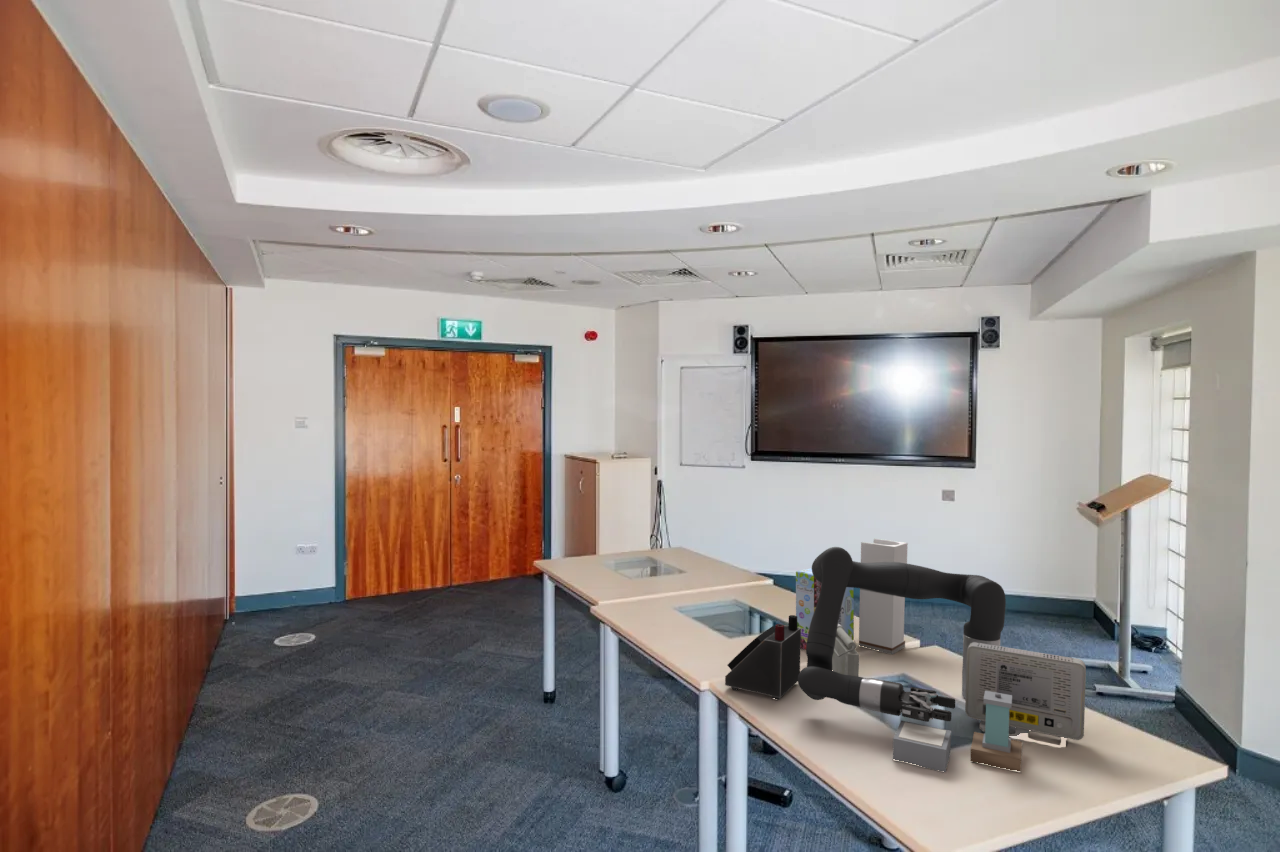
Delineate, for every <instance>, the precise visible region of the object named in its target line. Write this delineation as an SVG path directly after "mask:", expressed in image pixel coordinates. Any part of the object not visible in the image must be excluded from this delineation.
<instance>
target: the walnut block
mask: <svg viewBox="0 0 1280 852" xmlns="http://www.w3.org/2000/svg"><path fill="white" fill-rule="evenodd" d="M983 736H984V733H982V732H977V731H973V735H972V742H971V745H970V746H971V747H970V761H973V762H978V763H984V764H988V765H991V766H996V767H1000V768H1006V769H1010V770H1017V771H1022V754H1023V753H1022V751H1023V748H1022V747H1023V741H1021V740H1017V739H1012V738H1010V739H1011V748H1010V753H1008V752H1003V751H998V750H994V749H989V748H984V747H982V742H983ZM973 762H972V763H973ZM978 763H977V764H978ZM991 766H990V767H991ZM996 767H995V768H996ZM1000 768H999V769H1000Z"/></svg>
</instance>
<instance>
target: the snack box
mask: <svg viewBox="0 0 1280 852" xmlns="http://www.w3.org/2000/svg"><path fill="white" fill-rule="evenodd" d="M821 585H822V583H820V582H819V581H818V580H817V579H816V578H815V577H814V575H813V573H812V567H810V568H807V569H806V568H805V569H801V570H797V571H795V616H797V627H799V628H801V648H802V650H804V649H805V650H804V651H806V644H807V639H808V633H809V628H810V623H811V620H812V617H813V614H814V611H815V609H816V606H817V603H818V599H819V596H820V591H821ZM854 590H855V589H854V588H852V587H846V590H845V594H844V598H843V602H842V606H841V610H840V615H839V620H838V624H840V625H841V626H842V627H843V628H844V631H845V632H846V633H847V634H848V636H849V637H850V636H851V639H852V640H853V641H854V640H855V633H854V632H855V627H854V625H855V619H854V618H855V614H854V613H855V612H854V609H855V606H854V603H855V601H854V599H855V598H854V597H855V595H854Z"/></svg>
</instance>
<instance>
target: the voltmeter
mask: <svg viewBox="0 0 1280 852" xmlns="http://www.w3.org/2000/svg"><path fill="white" fill-rule="evenodd" d="M801 651H802V650H801V628H799V627H797V616H796V614H794V615H793V614H790V615H789V616H788V624H787V625H786V624H785V625H784V624H781V623H779V624H778V623H777V624H775V625H773V626H771V627H769V628H768V629H766V630H765V631H763V632H761V633H760V634H759V635H757V636H756V637H755V638H754V639H753V640H752V641H750V643H748V644H747V645H746V646H745V647H744V648H743V649H742V650H741V651H740V652H738V654H737V655H736V656H735V657H734V658H733V659H732V660H731V661H729V663H728V664H727V667H728V668H729V670H730V671H729V672H728V673H727V674H726V675H725V677H724V679H725V680H724V685H725V686H726V687H729V688H730V689H731V690H732V691H734V692H737V691H739V690H742V691H744V690H745V691H748V692H751V693H757V694H762V695H766V696H770V697H771V699H772V698H775V699H779V698H782V697H783V696H784V695H785V694H786V693H787V692H788V691H789V690H790V689H792V688H793V687H794V686H795V685H796V684H798V675H799V673H800V671H801ZM793 685H794V686H793ZM779 700H780V699H779Z"/></svg>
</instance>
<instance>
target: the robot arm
mask: <svg viewBox="0 0 1280 852" xmlns="http://www.w3.org/2000/svg"><path fill="white" fill-rule="evenodd" d="M811 568H812V573H813V575H814V577H815V578H816V579H817V580H818V581H819V582H820V583H822V585H821V591H820V596H819V599H818V603H817V606H816V609H815V611H814V614H813V617H812V620H811V623H810V628H809V633H808V639H807V644H806V650H805V654H806V657H807V660H806V666H805V667H804V668H802V669H800V673H799V675H798V682H797V684H798V687H799V688H800V690H801V691H802V692H803V693H804V694H805V695H806V696H807V697H808V698H810V699H812V700H814V701H820V700H823V699H825V698H827V699H832V700H836V701H838V702H840V703H842V704H843V705H844V704H845V705H848V706H853V707H857V708H862V709H865V710H868V711H872V712H876V713H881V714H887V715H891V716H896V717H899V716H901V717H904V718H908V719H913V720H917V721H921V722H927V723H928V722H929V723H930V721H931V720H940V721H943V722H951V721H952V711H950V710H946V709H940V708H937V707H932V706H938V707H941V708H942V707H943V708H949V709H952V710H953V709H955V708H956V699H955V698H953V697H947V696H943V695H939V694H938V693H937V691H936V690H932V689H925V688H920V687H913V686H912V687H910V691H905V690H904V685H903V683H900V682H896V681H895V682H894V681H889V680H884V679H879V678H872V677H871V678H870V677H861V676H858V677H857V676H852V675H844V674H840V673H837V672H834V671H832V657H833V653H834V647H835V640H836V633H837V626H838V620H839V615H840V610H841V606H842V602H843V598H844V594H845V590H846V587H852V588H855V589H860V588H861V589H866V590H871V591H875V592H880V593H885V594H890V595H895V596H899V597H905V599H912V600H931V599H944V600H949V601H952V602H956V603H960V604H963V605H966V606H968V607H970V615H969V616H970V618H969V621H967V622H965V623H964V625H963V630H962V631H963V634H962V635H963V636H962V640H963V641H962V671H961V673H962V674H961V676H962V677H961V678H962V679H961V697H962V698H963V699H965V697H966V660H967V649H968V647H969V645H970V644H971V643H973V642H977V643H983V644H989V645H995V646H1001V634H1002V632H1003V629H1004V626H1005V617H1006V605H1007V604H1006V601H1007V600H1006V594H1005V593H1006V592H1005V590H1004V588H1003V587H1002V585H1000V583H998V582H996V581H994V580H992V579H990V578H988V577H985V576H983V575H980V574H979V575H978V574H964V573H951V572H945V571H940V570H936V569H934V568H929V567H926V566H921V565H917V564H912V563H908V562H907V563H900V562H876V563H861V561H860V562H858V561H855V560H853V558H852V555H851V554H850V553H849V552H848V551H847V549H844V547H839V546H833V547H829V548H826V549H825V550H824V551H822V552H821V553H820V554H819V555H818V556H817V557H816V558H815V559H814V560H813V562H812V565H811Z"/></svg>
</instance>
